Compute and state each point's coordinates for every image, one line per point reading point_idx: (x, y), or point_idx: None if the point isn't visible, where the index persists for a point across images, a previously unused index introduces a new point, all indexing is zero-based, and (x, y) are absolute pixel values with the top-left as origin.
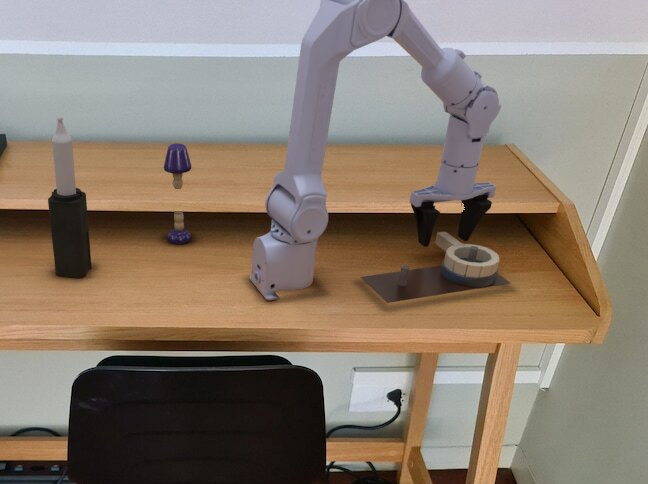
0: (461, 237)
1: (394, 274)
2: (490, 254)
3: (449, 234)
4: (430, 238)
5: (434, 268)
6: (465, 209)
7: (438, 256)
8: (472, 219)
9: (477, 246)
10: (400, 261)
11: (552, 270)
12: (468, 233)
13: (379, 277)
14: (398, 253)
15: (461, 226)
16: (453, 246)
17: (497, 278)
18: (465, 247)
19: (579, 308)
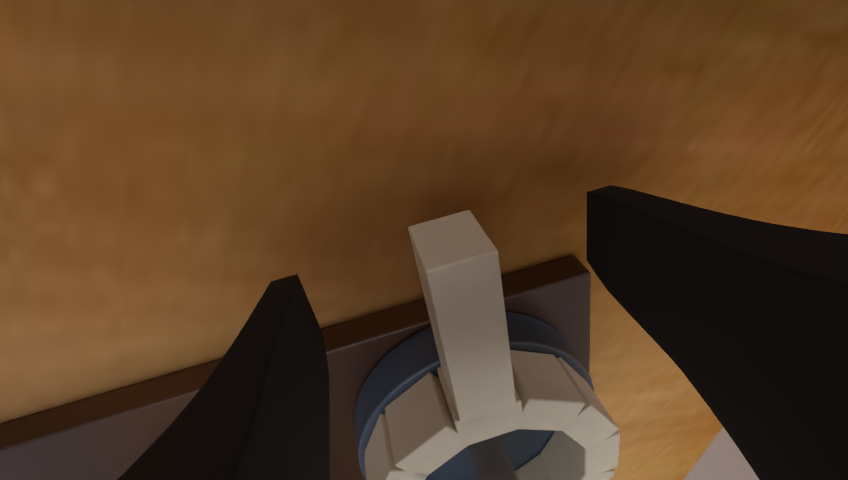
0: (591, 231)
1: (112, 438)
2: (585, 472)
3: (501, 297)
4: (327, 397)
5: (340, 367)
6: (768, 328)
7: (438, 150)
8: (706, 384)
9: (576, 418)
10: (185, 212)
11: None
12: (624, 305)
13: (24, 470)
14: (183, 99)
15: (639, 237)
16: (447, 436)
17: None
18: (511, 427)
19: (684, 461)
